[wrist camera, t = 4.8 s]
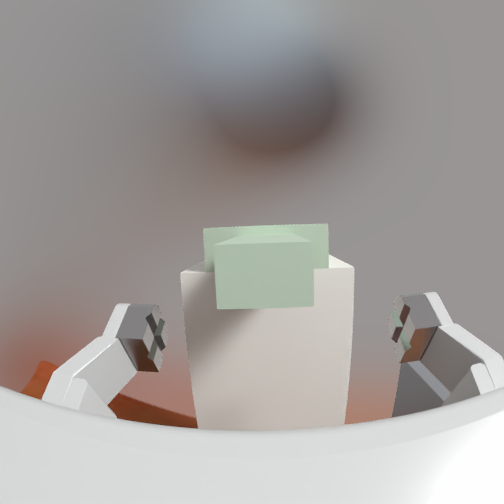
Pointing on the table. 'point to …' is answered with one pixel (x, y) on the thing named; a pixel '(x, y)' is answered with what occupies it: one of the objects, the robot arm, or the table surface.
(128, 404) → the table surface
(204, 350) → the tall stand
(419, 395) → the low stand
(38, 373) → the table surface
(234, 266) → the tab board
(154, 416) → the table surface
